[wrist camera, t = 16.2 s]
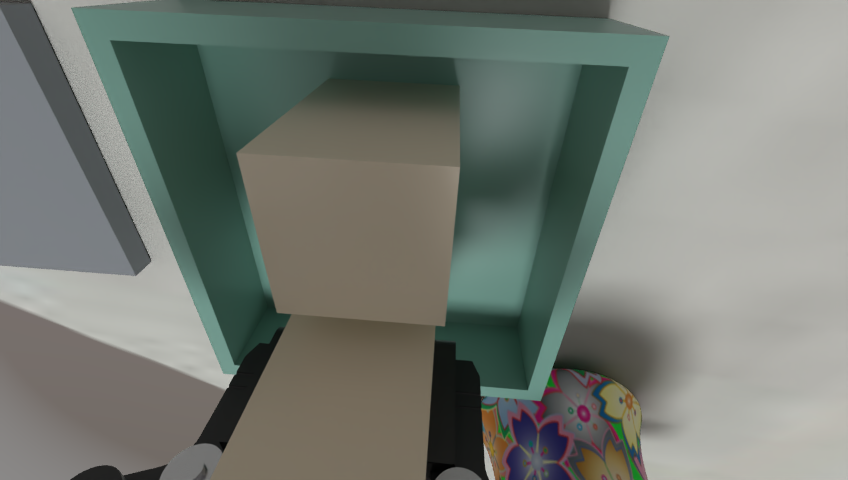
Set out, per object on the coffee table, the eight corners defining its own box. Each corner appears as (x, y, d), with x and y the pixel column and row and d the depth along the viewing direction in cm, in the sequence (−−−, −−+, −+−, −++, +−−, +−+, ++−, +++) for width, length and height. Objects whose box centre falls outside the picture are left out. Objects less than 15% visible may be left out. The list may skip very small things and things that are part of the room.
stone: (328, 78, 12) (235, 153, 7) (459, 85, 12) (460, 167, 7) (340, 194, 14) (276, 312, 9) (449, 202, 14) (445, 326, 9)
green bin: (176, -2, 11) (71, 7, 8) (609, 18, 11) (669, 36, 8) (263, 306, 19) (223, 373, 15) (526, 327, 18) (540, 400, 15)
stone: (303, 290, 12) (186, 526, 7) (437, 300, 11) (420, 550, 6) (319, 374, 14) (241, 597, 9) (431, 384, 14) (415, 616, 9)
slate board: (-183, -7, 12) (-230, -6, 11) (31, 3, 12) (-2, 5, 11) (3, 250, 18) (-19, 264, 17) (151, 261, 18) (136, 275, 17)
